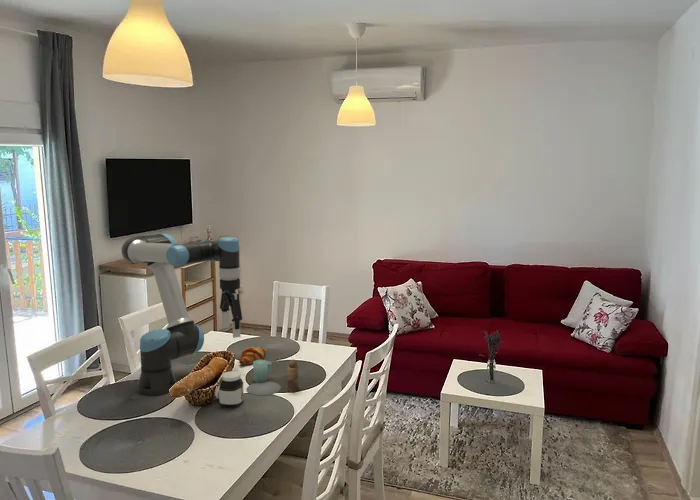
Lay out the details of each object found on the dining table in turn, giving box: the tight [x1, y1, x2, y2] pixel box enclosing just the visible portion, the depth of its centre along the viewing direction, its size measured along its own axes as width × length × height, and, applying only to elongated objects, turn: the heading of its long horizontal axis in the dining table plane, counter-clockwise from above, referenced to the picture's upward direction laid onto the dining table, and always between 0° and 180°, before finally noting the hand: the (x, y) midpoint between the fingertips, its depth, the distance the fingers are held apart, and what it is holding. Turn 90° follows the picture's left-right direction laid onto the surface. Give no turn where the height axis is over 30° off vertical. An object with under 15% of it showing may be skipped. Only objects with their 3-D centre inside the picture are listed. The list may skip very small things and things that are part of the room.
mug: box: [252, 359, 273, 383], centre depth 231 cm, size 8×6×8 cm
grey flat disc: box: [245, 381, 282, 397], centre depth 222 cm, size 14×14×1 cm
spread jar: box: [214, 371, 244, 408], centre depth 208 cm, size 12×11×12 cm
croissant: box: [238, 346, 267, 366], centre depth 255 cm, size 21×10×8 cm, turn 159°
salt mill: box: [287, 359, 300, 393], centre depth 220 cm, size 4×4×13 cm
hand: (231, 332), depth 209 cm, fingers open, 13 cm apart
